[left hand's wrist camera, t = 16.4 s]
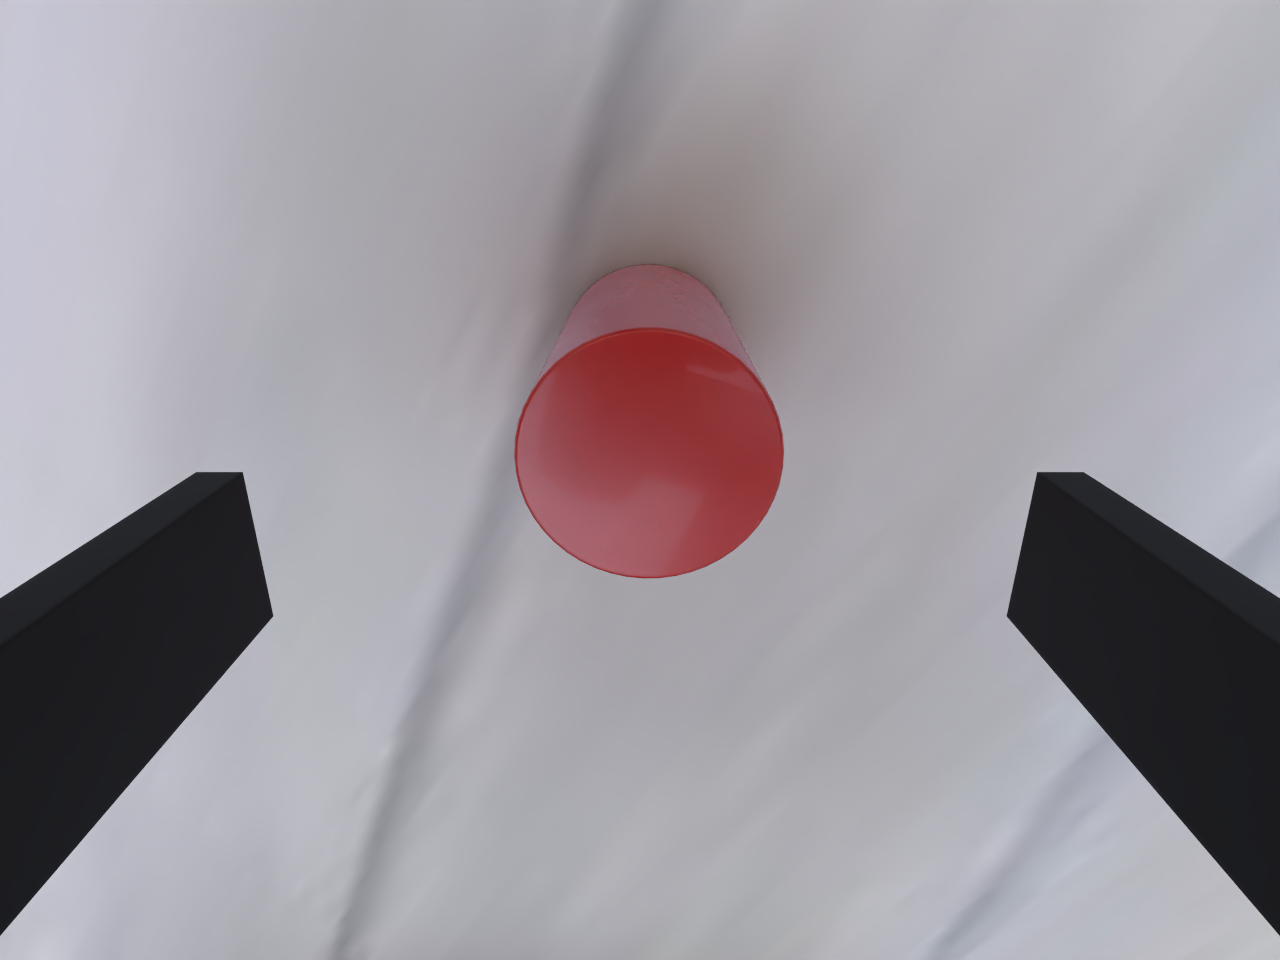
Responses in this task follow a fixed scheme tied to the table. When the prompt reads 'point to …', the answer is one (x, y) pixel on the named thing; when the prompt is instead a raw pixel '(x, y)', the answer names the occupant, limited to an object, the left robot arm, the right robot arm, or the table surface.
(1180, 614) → the left robot arm
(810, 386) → the table surface
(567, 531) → the canister
